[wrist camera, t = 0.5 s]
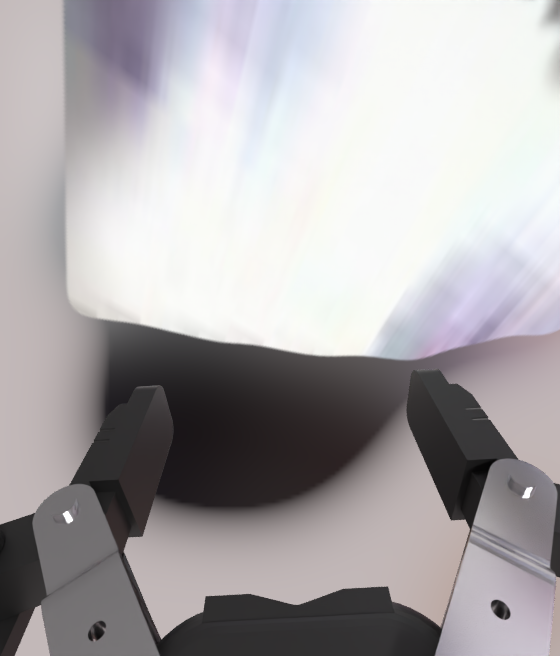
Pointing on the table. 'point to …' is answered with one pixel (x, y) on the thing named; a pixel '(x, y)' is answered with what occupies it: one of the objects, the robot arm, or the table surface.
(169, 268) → the table surface
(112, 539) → the robot arm
